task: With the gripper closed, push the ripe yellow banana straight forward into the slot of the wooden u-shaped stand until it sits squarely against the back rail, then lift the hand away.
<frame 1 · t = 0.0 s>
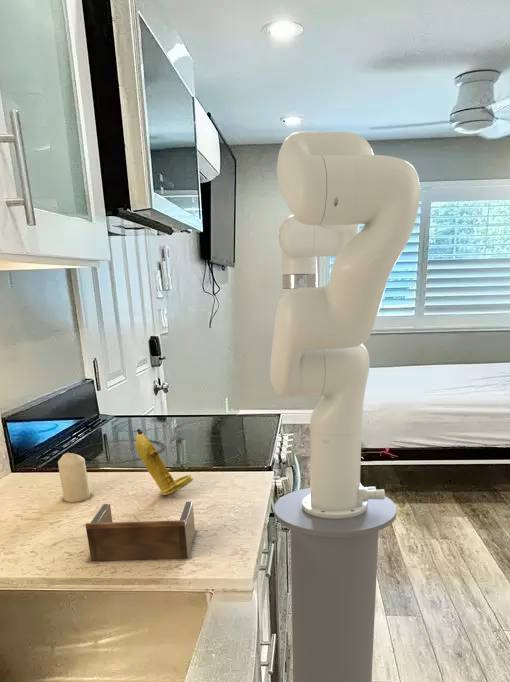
hand: (300, 364, 129), 25 cm above the worktop, tool pointing down, fingers open, 9 cm apart
candle: (77, 498, 126), on the worktop
ripe yellow banana: (168, 495, 126), on the worktop
wooden u-shaped stand: (146, 543, 102), on the worktop
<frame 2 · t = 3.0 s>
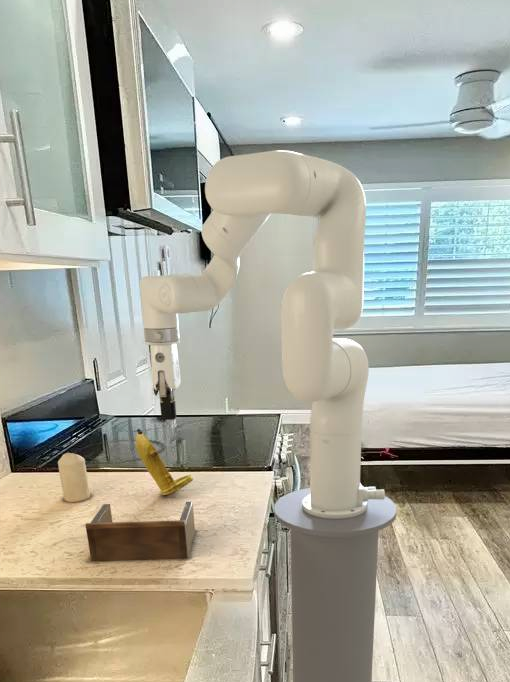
hand: (169, 418, 132), 14 cm above the worktop, tool pointing down, fingers closed
nothing on the worktop moved.
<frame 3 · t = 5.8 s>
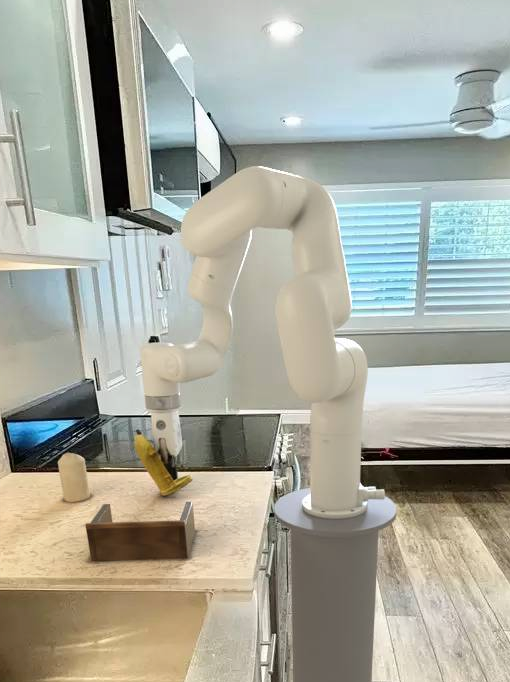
hand: (170, 482, 130), 1 cm above the worktop, tool pointing down, fingers closed
ripe yellow banana: (167, 496, 125), on the worktop, touching gripper
everything else where it was.
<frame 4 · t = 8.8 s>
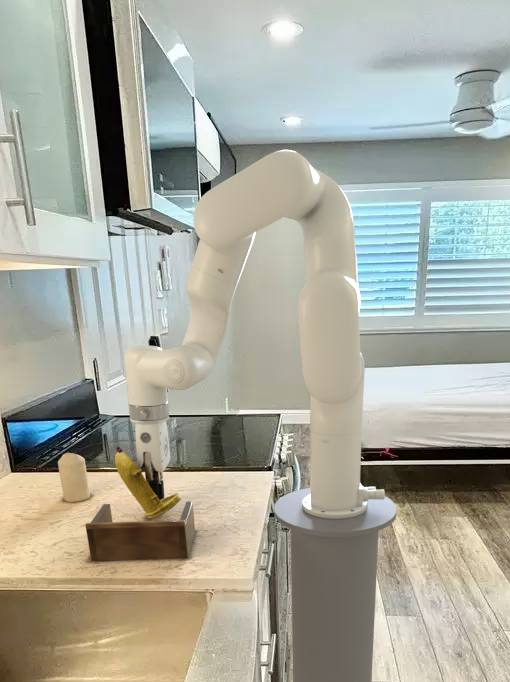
hand: (156, 499, 118), 2 cm above the worktop, tool pointing down, fingers closed
ripe yellow banana: (154, 518, 114), on the worktop, touching gripper
everything else where it was.
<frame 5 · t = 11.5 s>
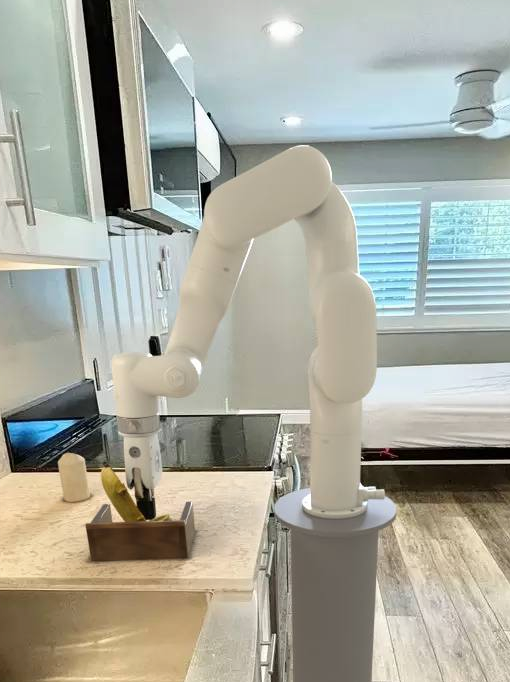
hand: (147, 518, 109), 2 cm above the worktop, tool pointing down, fingers closed
ripe yellow banana: (142, 539, 105), on the worktop, touching gripper
everything else where it was.
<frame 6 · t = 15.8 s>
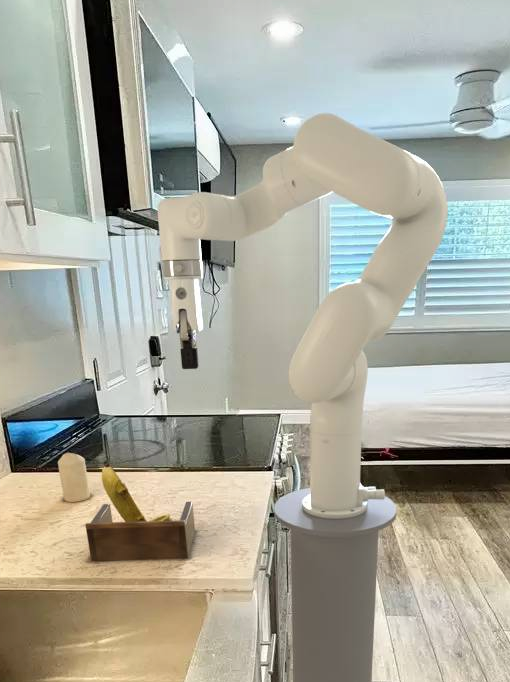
hand: (190, 368, 116), 27 cm above the worktop, tool pointing down, fingers closed
ripe yellow banana: (142, 539, 105), on the worktop
everything else where it was.
at the end: ripe yellow banana inside the target area on the wooden u-shaped stand (2.7 cm from its centre), point 0.0 cm above the wooden u-shaped stand's base; ripe yellow banana tilted 0°; ripe yellow banana moved 22.7 cm from its start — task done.
